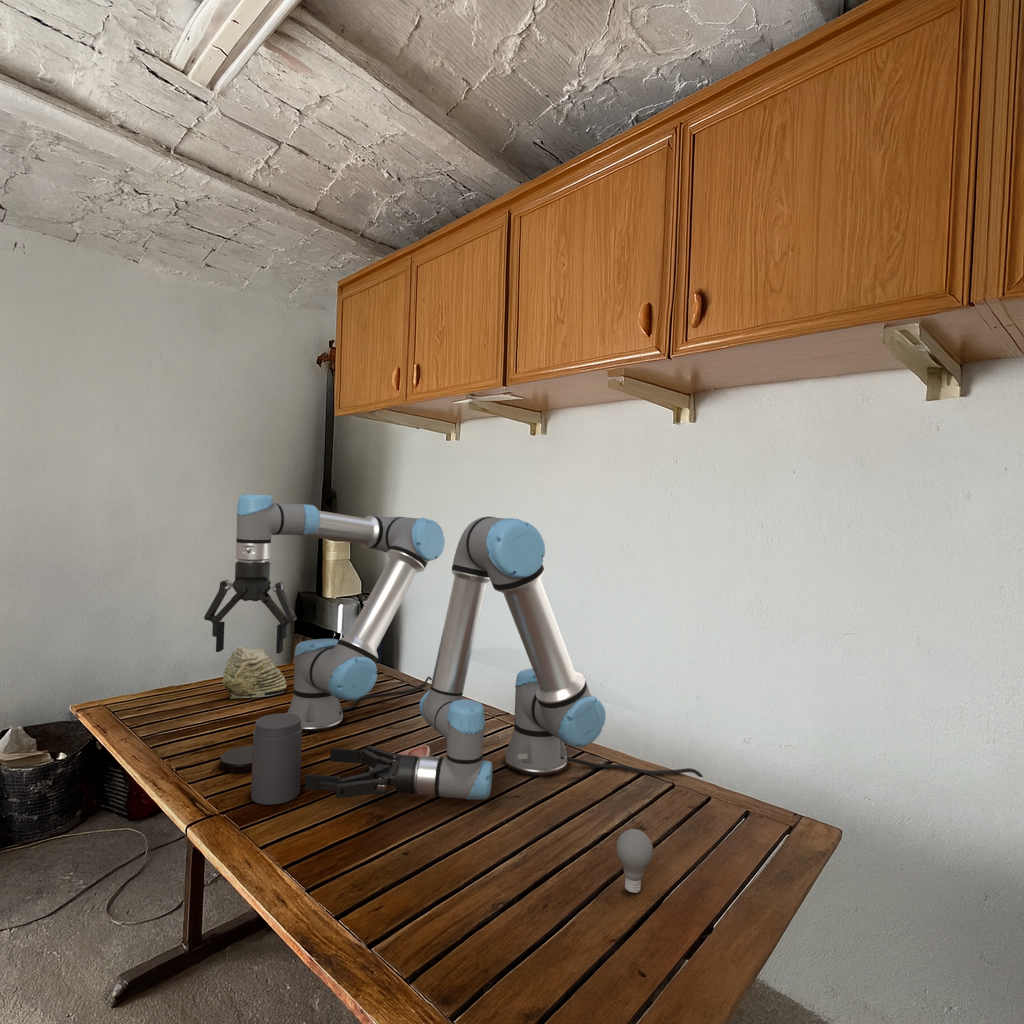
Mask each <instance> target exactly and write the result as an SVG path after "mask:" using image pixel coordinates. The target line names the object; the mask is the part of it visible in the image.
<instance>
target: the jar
mask: <svg viewBox="0 0 1024 1024" xmlns="http://www.w3.org/2000/svg"><path fill="white" fill-rule="evenodd" d="M254 726H255V728H254V729H253V732H252V746H253V752H252V772H251V783H250V798H251V800H252V802H254V803H255V804H260V805H265V806H267V805H268V806H272V805H279V804H284V803H288V802H290V801H292V800H294V799H296V798H297V797H298V796H299V794H300V792H301V777H302V776H301V774H302V770H301V769H302V747H303V732H302V726H301V718H300V717H299V716H297V715H294V714H288V713H287V712H281V713H272V714H267V715H263V716H260V717H259V718H257V719H256V721H255V723H254Z"/></svg>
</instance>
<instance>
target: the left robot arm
mask: <svg viewBox="0 0 1024 1024" xmlns="http://www.w3.org/2000/svg"><path fill="white" fill-rule="evenodd" d="M235 515H236V539H235V540H236V541H235V559H236V560H238V561H236V562H235V563H234V581H229V580H228V579H225V580H224V579H223V580H222V581H220V582H219V587H218V591H217V593H216V594H215V597H214V598H213V600H212V602H211V604H210V606H209V607H208V609H207V611H206V613H205V615H204V617H203V619H204V621H209V622H211V624H212V631H211V635H212V637H213V638H215V653H220V652H222V651H223V650H224V649H225V647H224V646H225V621H222V620H223V619H224V618H225V616H227V615H228V613H229V612H230V611H231V610H232V609H234V607H235V606H236V605H237V604H238V603H239V602H240V601H241V600H242V601H243V602H248V601H251V602H259V601H261V603H262V604H264V606H266V608H267V609H268V610H269V612H270V613H271V614H272V615H273V616H274V617H275V619H276V620H277V621H278V623H279V624H277V625H276V646H275V651H276V652H275V654H281V653H283V652H284V640H285V639H287V638H288V636H289V624H292V623H294V622H295V621H297V620H298V619H297V616H296V613H295V611H294V609H293V607H292V604H291V602H290V601H289V598H288V596H287V594H286V592H285V587H284V586H285V585H284V582H283V581H278V582H271V580H270V577H271V562H270V561H269V560H270V559H271V548H272V536H280V535H281V536H301V537H307V538H316V539H321V540H330V541H338V542H344V543H352V544H359V545H361V546H362V547H363V548H365V549H371V550H375V551H379V552H383V553H385V554H387V556H388V561H387V563H386V564H385V567H384V569H383V570H382V571H381V573H380V576H379V578H378V579H377V581H376V583H375V584H374V586H373V589H372V591H371V592H370V594H369V596H368V598H367V599H366V601H365V603H364V605H363V607H362V608H361V610H360V613H359V614H358V616H357V618H356V619H355V621H354V623H353V625H352V627H351V629H350V630H349V632H348V633H347V635H346V636H342V637H340V638H339V639H337V638H318V639H308V640H304V641H300V642H299V643H297V644H296V646H295V650H294V655H293V657H294V672H293V673H294V674H293V695H292V696H293V697H292V699H291V702H290V704H289V708H288V709H287V712H286V713H288V714H294V715H297V716H299V717H300V718H301V726H302V733H316V732H325V731H329V730H332V729H335V728H337V727H339V726H340V725H342V723H343V722H344V714H343V711H345V710H346V711H347V710H351V709H353V708H355V706H356V704H357V702H359V701H362V700H364V699H368V698H369V699H370V698H376V697H384V696H390V695H399V694H400V695H401V694H406V693H410V692H414V691H416V690H419V689H420V688H422V687H424V686H425V685H426V684H427V683H428V681H432V678H433V677H431V676H427V677H426V678H425V681H424V682H423V683H422V684H420V685H417V686H416V687H413V688H411V689H406V690H398V691H390V692H382V693H376V694H375V693H374V694H369V693H370V692H371V691H372V690H373V688H374V686H375V684H376V682H377V679H378V673H377V672H378V668H377V661H378V659H379V655H378V651H377V649H378V648H379V646H380V644H381V642H382V640H383V638H384V636H385V634H386V632H387V630H388V628H389V626H390V625H391V623H392V621H393V619H394V617H395V615H396V613H397V611H398V609H399V607H400V605H401V603H402V601H403V599H404V598H405V596H406V594H407V592H408V591H409V588H410V586H411V584H412V583H413V581H414V579H415V576H416V575H417V574H418V573H421V572H424V571H425V569H426V567H427V565H428V563H429V562H431V561H434V560H437V559H438V558H440V557H441V555H442V553H443V551H444V549H445V545H446V540H445V536H444V531H443V529H442V527H441V526H440V524H439V523H438V522H436V521H435V520H433V519H428V518H425V517H419V518H418V517H407V516H376V515H367V516H366V517H360V516H354V515H348V514H344V513H343V514H342V513H336V512H330V511H324V510H319V508H317V507H316V506H315V505H313V504H306V503H302V504H301V503H283V502H274V500H273V497H272V496H271V495H267V494H241V495H240V496H239V497H238V499H237V507H236V513H235ZM232 588H233V590H234V592H235V594H234V595H233V596H232V597H231V598H230V599H229V601H228V602H227V603H226V604H225V605H224V606H223V607H222V609H220V611H218V609H219V608H220V606H221V604H222V602H223V600H224V599H225V597H226V595H227V593H228V591H230V590H231V589H232ZM271 589H272V590H273V592H274V593H275V594H276V597H277V599H278V601H279V603H280V605H281V607H282V610H281V608H280V607H279V606H278V604H277V603H276V602H275V601H274V600H273V598H272V596H271V595H270V593H269V591H270V590H271ZM217 611H218V613H217ZM216 613H217V614H216ZM368 694H369V695H368ZM340 700H344V701H349V702H353V703H352V705H350V706H344V707H343V706H341V702H340Z"/></svg>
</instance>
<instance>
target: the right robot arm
mask: <svg viewBox="0 0 1024 1024" xmlns="http://www.w3.org/2000/svg"><path fill="white" fill-rule="evenodd" d="M545 556H546V546H545V541H544V538H543V536H542V534H541V532H540V531H539V530H538V529H537V528H536V527H535V526H534V525H533V524H531V523H529V522H527V521H523V520H522V519H519V518H514V517H506V518H504V517H496V516H482V517H479V518H477V519H475V520H473V521H471V522H470V523H469V524H468V525H467V526H466V528H465V529H464V530H463V532H462V534H461V535H460V538H459V541H458V543H457V546H456V549H455V553H454V556H453V561H452V566H451V570H450V571H451V573H452V575H453V576H454V578H453V582H452V586H451V592H450V595H449V596H450V597H449V599H448V600H449V601H448V605H447V610H446V614H445V619H444V622H443V623H444V624H443V627H442V632H441V637H440V642H439V647H438V651H437V656H436V661H435V664H434V669H433V674H432V677H431V678H432V680H431V684H430V688H429V690H428V691H427V692H425V693H424V694H423V695H422V697H421V698H420V701H419V704H418V705H419V708H418V709H419V714H420V715H421V717H422V719H423V720H424V721H425V722H426V723H427V725H429V726H430V727H432V728H433V729H435V730H436V731H437V732H438V733H439V734H440V735H441V736H442V737H443V738H444V739H445V740H446V757H441V756H430V755H429V756H422V757H421V758H419V757H418V756H414V755H401V754H398V753H395V752H391V751H387V750H385V749H381V748H378V747H375V746H372V745H367V746H366V748H362V749H351V748H340V747H339V748H337V747H331V748H330V749H329V750H330V751H329V762H334V763H347V764H360V765H366V766H368V767H371V768H373V769H371V770H370V769H369V770H368V771H367V772H365V773H360V774H355V775H351V776H346V777H342V778H341V776H340V775H323V774H312V773H311V774H310V773H306V774H305V780H304V790H312V791H322V792H335V798H336V799H345V798H354V797H360V796H361V797H362V796H368V795H374V794H376V795H386V794H388V787H391V786H393V787H394V788H395V790H396V792H397V794H400V795H401V794H402V795H411V796H412V795H414V794H415V793H416V794H417V795H419V796H428V797H429V798H432V797H441V798H451V799H464V800H466V801H469V800H472V801H474V800H477V801H478V800H487V799H488V798H489V797H490V795H491V791H492V784H493V763H492V762H491V761H490V760H486V759H484V753H483V752H484V739H485V738H484V737H485V727H486V726H485V725H486V719H485V707H484V705H483V704H482V703H481V702H480V701H477V700H473V699H467V698H463V694H464V689H465V685H466V681H467V676H468V672H469V667H470V662H471V659H472V653H473V648H474V644H475V639H476V635H477V630H478V625H479V621H480V616H481V612H482V609H483V608H482V607H483V603H484V599H485V594H486V590H487V585H488V583H490V582H491V585H492V587H493V589H494V590H495V591H496V592H499V593H501V594H502V595H503V596H504V599H505V601H506V604H507V606H508V609H509V612H510V614H511V617H512V620H513V622H514V625H515V627H516V630H517V632H518V635H519V637H520V640H521V643H522V645H523V647H524V650H525V653H526V655H527V657H528V660H529V664H530V666H531V668H526V669H522V670H520V671H519V672H518V673H517V675H516V680H515V685H514V687H515V692H514V696H515V697H514V716H513V717H514V720H513V723H514V724H513V731H512V734H511V737H510V740H509V742H508V745H507V748H506V751H505V755H504V756H505V757H504V763H505V765H506V766H507V767H508V768H509V769H511V770H512V771H514V772H516V773H519V774H522V775H527V776H533V777H547V776H554V775H558V774H560V773H562V772H564V771H565V770H566V769H567V767H568V762H570V763H571V762H572V763H576V764H581V765H585V766H588V767H592V768H599V769H622V770H627V771H633V772H635V773H641V774H644V775H668V774H683V773H692V774H695V775H696V776H697V777H699V778H703V777H704V776H703V774H702V773H701V772H700V771H699V770H697V769H694V768H689V767H687V768H679V769H678V768H677V769H658V770H652V769H651V770H650V769H643V768H638V767H635V766H630V765H627V764H617V763H616V764H615V763H596V762H590V761H586V760H583V759H578V758H574V757H570V756H568V754H567V750H566V746H565V745H569V746H571V747H574V748H583V747H587V746H589V745H591V744H592V743H593V742H595V741H596V739H597V738H599V736H600V734H601V733H602V731H603V727H604V726H605V723H606V719H607V717H606V715H607V714H606V713H607V712H606V708H605V705H604V704H603V702H602V701H601V700H600V699H599V698H598V697H597V696H595V695H592V694H591V692H590V689H589V687H588V684H587V680H586V679H585V676H584V675H583V674H582V673H581V672H578V671H576V670H575V668H574V665H573V663H572V660H571V658H570V654H569V652H568V650H567V647H566V646H567V645H566V644H565V642H564V639H563V636H562V633H561V631H560V628H559V625H558V622H557V620H556V617H555V614H554V611H553V609H552V606H551V603H550V601H549V599H548V595H547V593H546V590H545V587H544V585H543V582H542V580H541V579H542V577H543V575H544V573H545V567H544V557H545ZM668 770H669V771H668Z"/></svg>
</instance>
